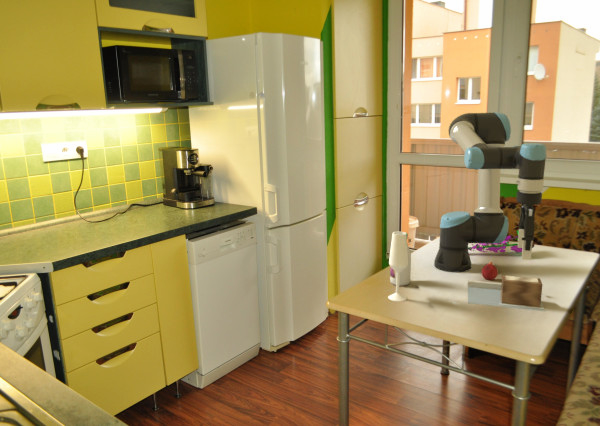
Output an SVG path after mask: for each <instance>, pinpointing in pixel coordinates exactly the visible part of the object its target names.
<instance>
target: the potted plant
mask: <svg viewBox="0 0 600 426" xmlns="http://www.w3.org/2000/svg"><path fill="white" fill-rule="evenodd" d="M516 233H517V235H516V236H514V237H512V235H507V236H506V238H505V240H504V241H503V242H501V243H493V244H490V243H471V246H468V251H470V252H475V251H478V252H480V253H481V252H482V253H487V252H488V251H490V252H494V253H498V252H500V253H505V252H506V249H507V247H510V251H514V252H516V254H521V255H522V248H518V236H519V230H516ZM514 239H515V240H516V241H517V243H510V242H509V241H511V240H514ZM534 247H535V241H534V240H533V243H532V249H533V248H534Z"/></svg>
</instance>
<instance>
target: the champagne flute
mask: <svg viewBox="0 0 600 426" xmlns="http://www.w3.org/2000/svg"><path fill="white" fill-rule="evenodd" d="M406 233H407V232H405V231H393V232H392V235H391V243H390V249H389V250H390V251H389V257H388V258H389V260H388V265H389V266H390V267H391V268H392V269H393V270H394V271H395V272H397V273H396V285H395V292H394V293H392V294H390V295H388V296H387V298H388V299H389V300H390V301H392V302H404V301H407V300H408V299H407V296H405V294H404V295H403V294H402V293H400V286H399V284H400V272H402V271H403V270H404V269H405V268H406V267H407V266H408V253H407V244H408V239H407V238H408V237H406Z"/></svg>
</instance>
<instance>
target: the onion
mask: <svg viewBox="0 0 600 426" xmlns="http://www.w3.org/2000/svg"><path fill="white" fill-rule="evenodd" d="M498 274H499V271H498V268H497V267H496V265H494V264H493V262H492V261H490V262H488V263H487V264H485V265H484V266H483V267H482V269H481V275H482V277H483V279H485V280H488V281H494V280H495V279H496V278H497V276H498Z"/></svg>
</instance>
